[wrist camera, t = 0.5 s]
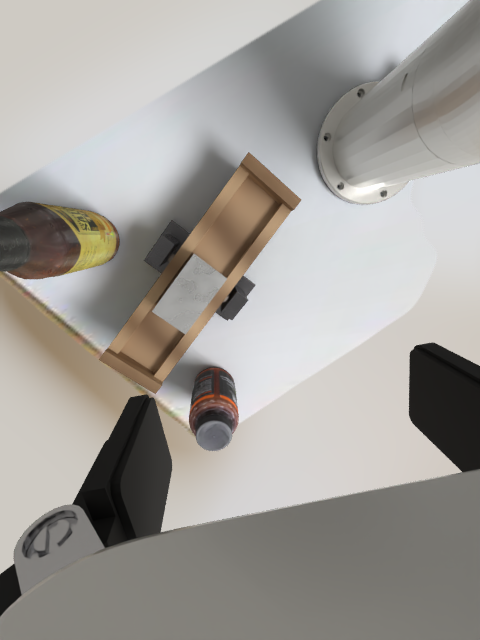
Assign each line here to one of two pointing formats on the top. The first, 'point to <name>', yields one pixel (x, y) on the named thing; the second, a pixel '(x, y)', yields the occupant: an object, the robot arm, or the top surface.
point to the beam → (216, 250)
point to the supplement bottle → (213, 409)
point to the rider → (189, 294)
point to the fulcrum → (170, 245)
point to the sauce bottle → (53, 240)
